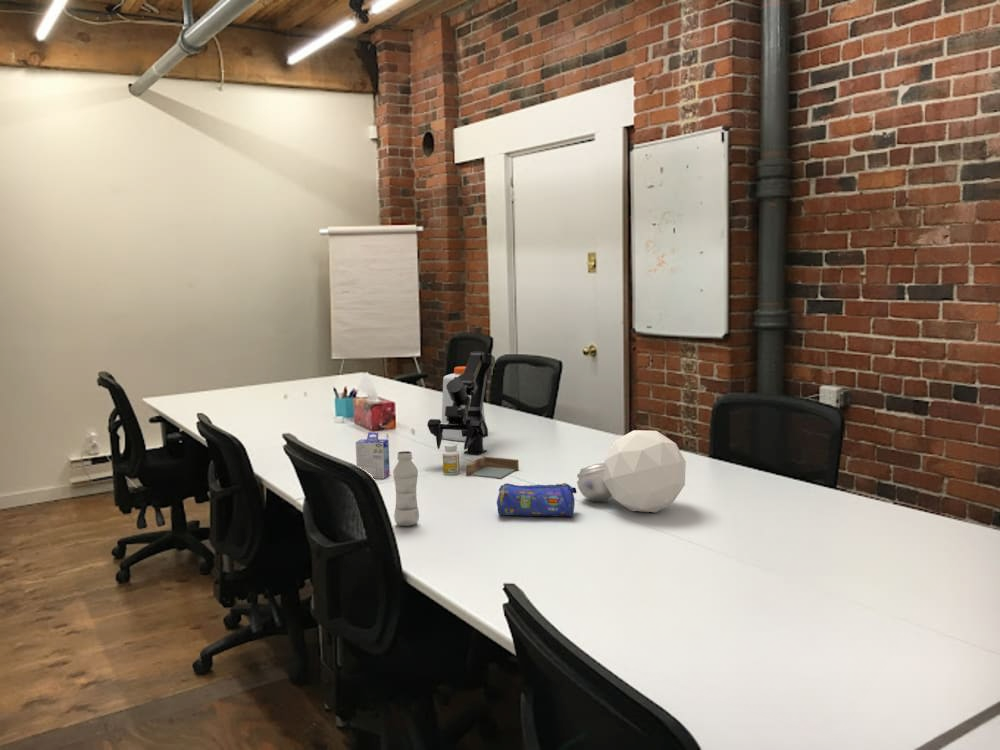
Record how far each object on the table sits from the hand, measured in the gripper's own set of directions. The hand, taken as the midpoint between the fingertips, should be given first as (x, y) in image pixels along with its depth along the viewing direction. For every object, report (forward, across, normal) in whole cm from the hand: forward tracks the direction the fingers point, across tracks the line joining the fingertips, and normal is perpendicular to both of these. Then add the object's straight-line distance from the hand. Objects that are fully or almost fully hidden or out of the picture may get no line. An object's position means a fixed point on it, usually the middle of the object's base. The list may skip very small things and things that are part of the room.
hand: (451, 448), depth 282 cm
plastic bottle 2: (-32, -11, +43) cm, 55 cm away
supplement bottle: (+6, 0, +6) cm, 8 cm away
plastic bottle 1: (+45, +4, -32) cm, 55 cm away
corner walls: (+5, +14, +7) cm, 16 cm away
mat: (+5, +14, +7) cm, 16 cm away
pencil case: (+35, +36, -22) cm, 55 cm away
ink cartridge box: (+12, -24, 0) cm, 27 cm away
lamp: (+26, +61, -14) cm, 67 cm away
